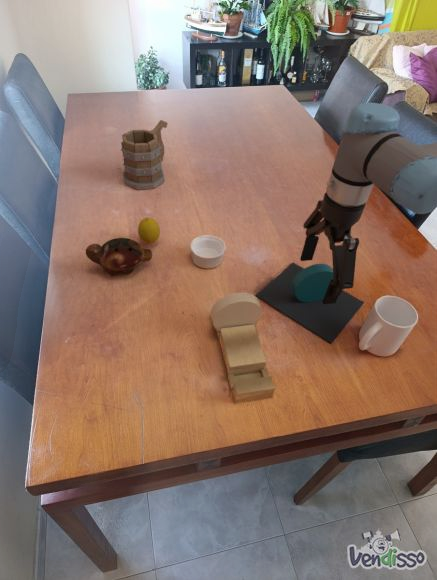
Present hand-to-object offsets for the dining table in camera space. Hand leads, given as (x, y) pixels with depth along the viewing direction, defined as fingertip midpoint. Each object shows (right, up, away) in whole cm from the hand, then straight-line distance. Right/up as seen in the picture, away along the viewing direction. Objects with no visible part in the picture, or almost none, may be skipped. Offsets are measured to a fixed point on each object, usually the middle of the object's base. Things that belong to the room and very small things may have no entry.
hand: (316, 279), depth 83 cm
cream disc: (-18, -7, -9) cm, 21 cm away
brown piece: (-46, +3, +9) cm, 47 cm away
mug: (+11, -14, -3) cm, 18 cm away
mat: (0, -5, +5) cm, 7 cm away
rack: (-18, -16, -7) cm, 25 cm away
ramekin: (-25, +6, +13) cm, 29 cm away
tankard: (-44, +36, +40) cm, 69 cm away
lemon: (-40, +10, +16) cm, 44 cm away
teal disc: (0, -1, +1) cm, 1 cm away
